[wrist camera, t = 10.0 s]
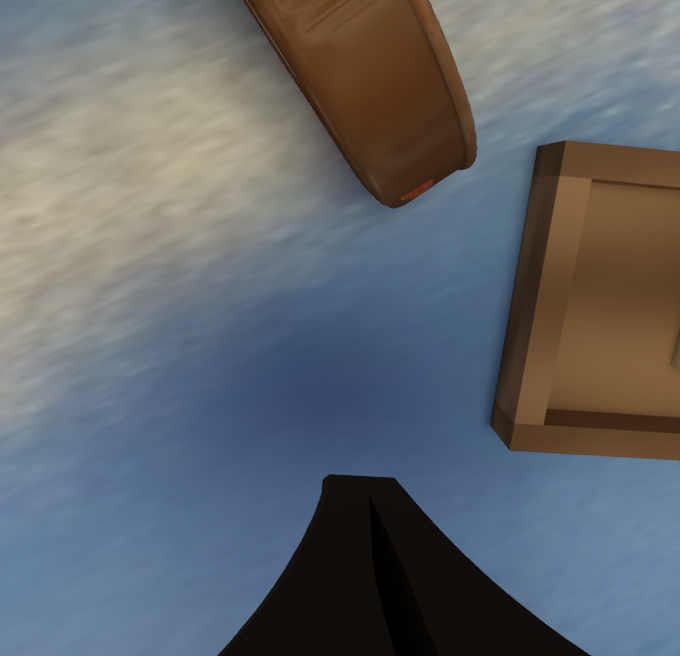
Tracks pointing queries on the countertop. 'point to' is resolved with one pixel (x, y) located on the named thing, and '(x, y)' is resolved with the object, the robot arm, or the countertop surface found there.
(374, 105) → the tin
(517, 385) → the box
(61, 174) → the countertop surface
